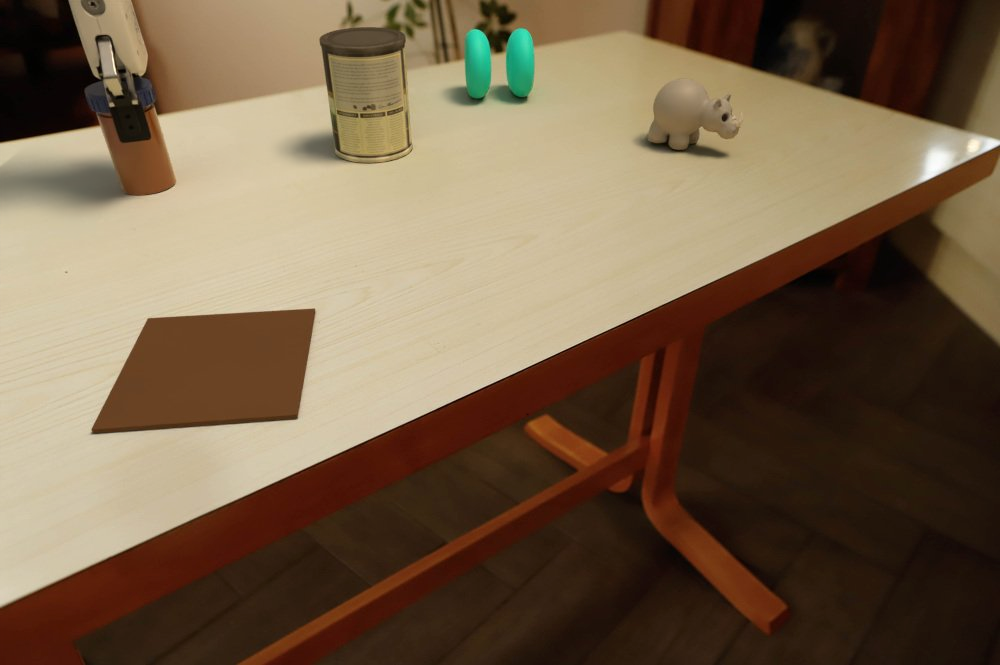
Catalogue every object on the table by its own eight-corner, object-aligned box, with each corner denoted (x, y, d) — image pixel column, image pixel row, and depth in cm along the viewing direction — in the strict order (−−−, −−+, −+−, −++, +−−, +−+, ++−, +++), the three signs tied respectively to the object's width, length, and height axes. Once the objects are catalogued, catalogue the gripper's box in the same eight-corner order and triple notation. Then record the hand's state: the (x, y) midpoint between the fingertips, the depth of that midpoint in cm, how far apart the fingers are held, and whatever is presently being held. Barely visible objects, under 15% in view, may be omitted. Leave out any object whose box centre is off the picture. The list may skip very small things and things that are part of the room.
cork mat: (92, 433, 50) (90, 429, 50) (149, 321, 62) (147, 317, 61) (297, 418, 52) (296, 414, 51) (315, 312, 63) (315, 308, 63)
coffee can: (319, 147, 95) (303, 35, 87) (383, 130, 101) (374, 22, 93) (362, 170, 89) (349, 51, 81) (428, 150, 95) (422, 37, 87)
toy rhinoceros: (722, 166, 91) (735, 98, 86) (638, 144, 97) (646, 80, 92) (745, 150, 95) (759, 85, 90) (664, 130, 101) (673, 68, 96)
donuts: (464, 88, 118) (463, 22, 112) (525, 86, 119) (526, 21, 113) (469, 107, 110) (468, 38, 104) (534, 105, 110) (536, 36, 105)
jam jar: (115, 197, 82) (83, 104, 76) (129, 176, 87) (100, 87, 81) (170, 193, 83) (142, 101, 77) (181, 172, 88) (155, 84, 82)
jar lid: (79, 104, 79) (73, 87, 78) (138, 89, 84) (133, 73, 82) (106, 118, 76) (100, 100, 75) (167, 102, 80) (162, 84, 79)
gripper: (119, -36, 66) (172, 151, 76) (130, -60, 79) (174, 102, 89) (27, -31, 64) (94, 161, 74) (54, -56, 77) (108, 109, 87)
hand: (137, 127), depth 82 cm, fingers open, 7 cm apart
